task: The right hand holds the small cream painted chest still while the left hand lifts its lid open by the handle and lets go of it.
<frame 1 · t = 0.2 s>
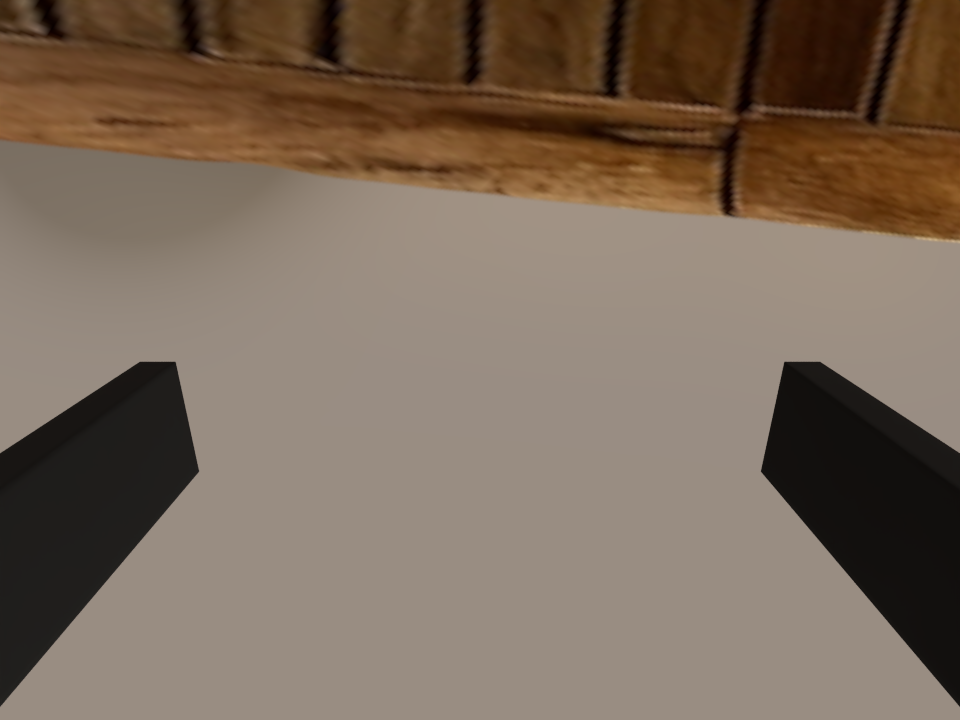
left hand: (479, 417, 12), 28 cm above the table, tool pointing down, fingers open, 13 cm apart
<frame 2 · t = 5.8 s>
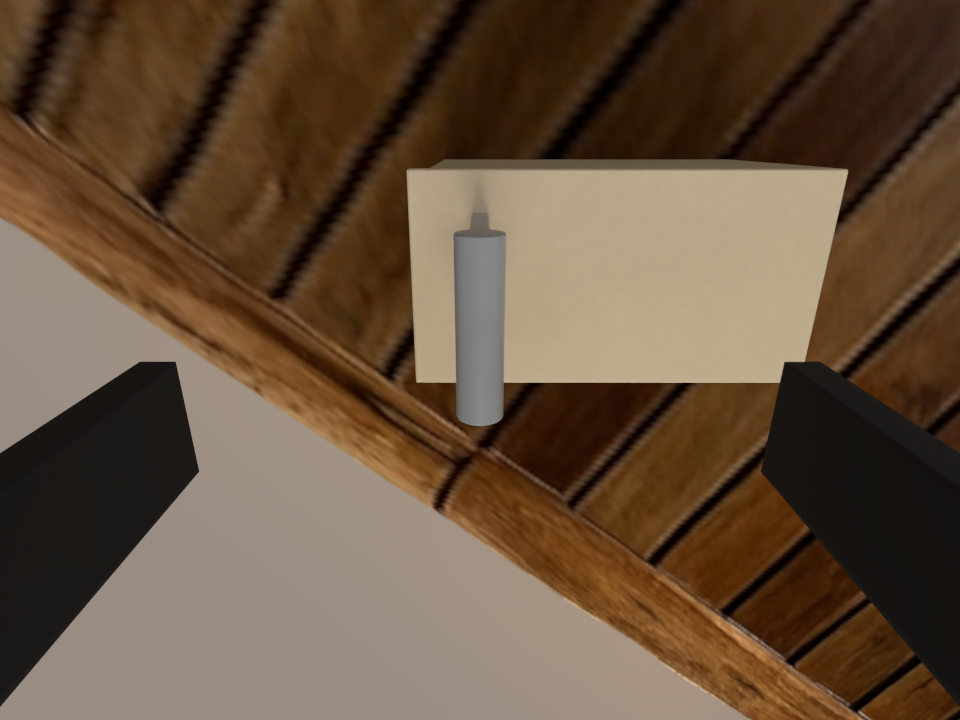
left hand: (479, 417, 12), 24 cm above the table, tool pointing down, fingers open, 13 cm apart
lid: (635, 303, 21), point 15 cm above the table, hinge at 0.0°
chest: (581, 238, 35), on the table
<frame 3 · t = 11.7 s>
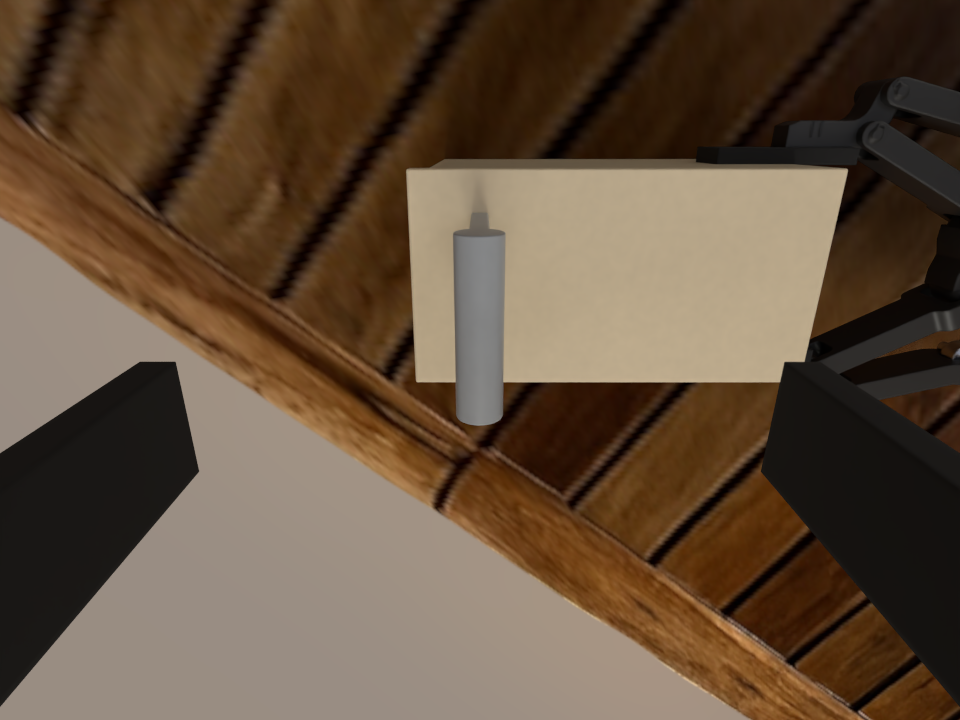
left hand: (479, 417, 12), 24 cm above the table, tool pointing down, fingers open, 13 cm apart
lid: (635, 303, 21), point 15 cm above the table, hinge at 0.0°
chest: (580, 238, 35), on the table, touching right hand
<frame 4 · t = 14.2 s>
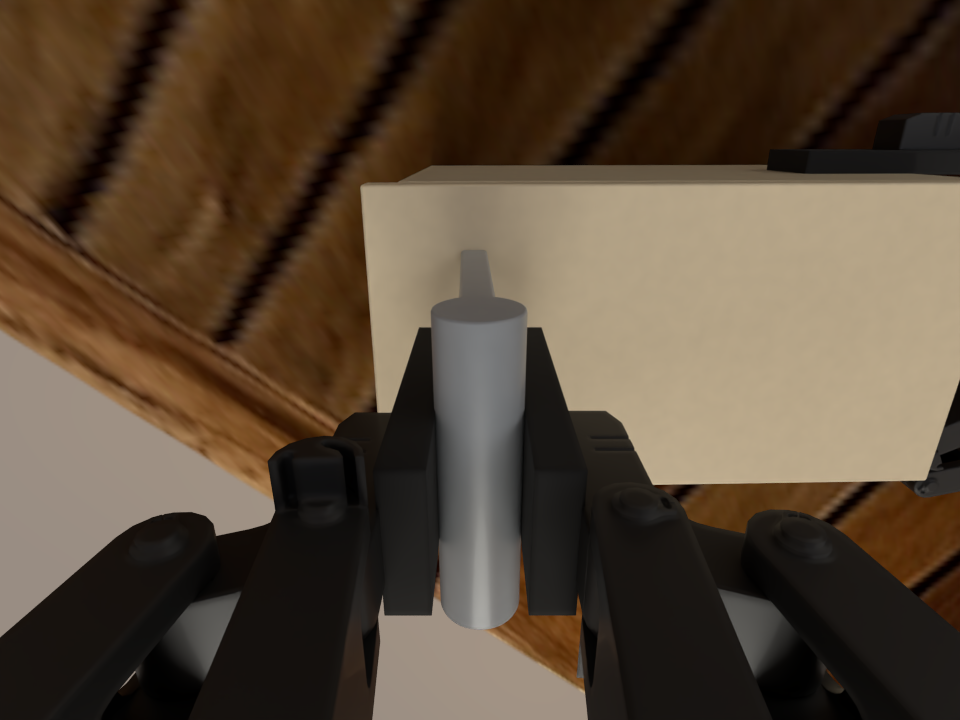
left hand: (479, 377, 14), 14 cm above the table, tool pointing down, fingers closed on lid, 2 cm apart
lid: (721, 394, 13), point 15 cm above the table, hinge at 1.6°, touching left hand
chest: (604, 265, 27), on the table, touching right hand
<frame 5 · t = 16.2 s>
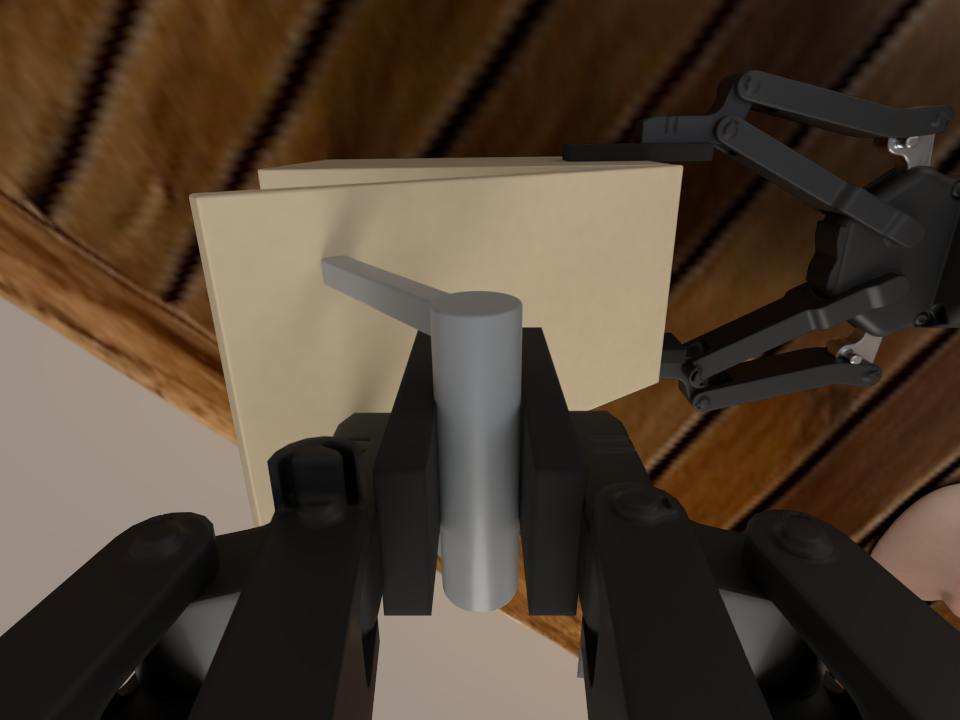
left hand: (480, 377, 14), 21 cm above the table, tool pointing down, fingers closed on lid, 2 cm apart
right hand: (561, 257, 29), fingers closed on chest, 9 cm apart
lid: (576, 347, 16), point 19 cm above the table, hinge at 37.3°, touching left hand
chest: (471, 237, 34), on the table, touching right hand
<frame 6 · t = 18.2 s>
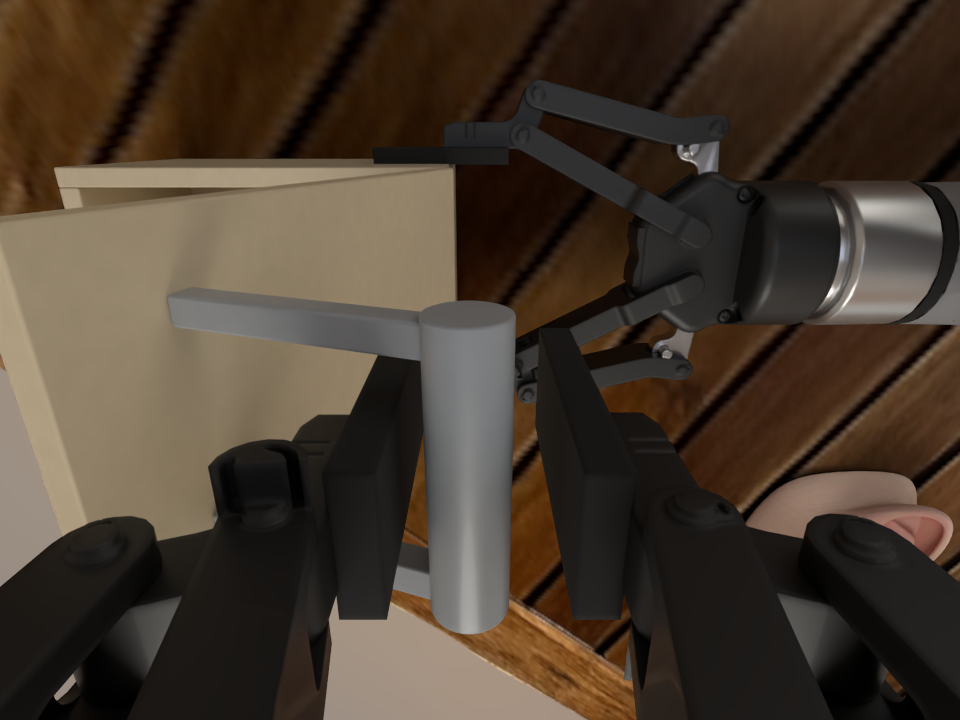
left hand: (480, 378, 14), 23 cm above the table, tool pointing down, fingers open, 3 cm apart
right hand: (384, 254, 30), fingers closed on chest, 9 cm apart
lid: (440, 349, 16), point 21 cm above the table, hinge at 70.0°
anatomical model: (821, 528, 44), on the table
chest: (324, 235, 36), on the table, touching right hand
when the right hand's fingers open (6 cm above the table, at t = 22.2 s): chest stays where it is, on the table.
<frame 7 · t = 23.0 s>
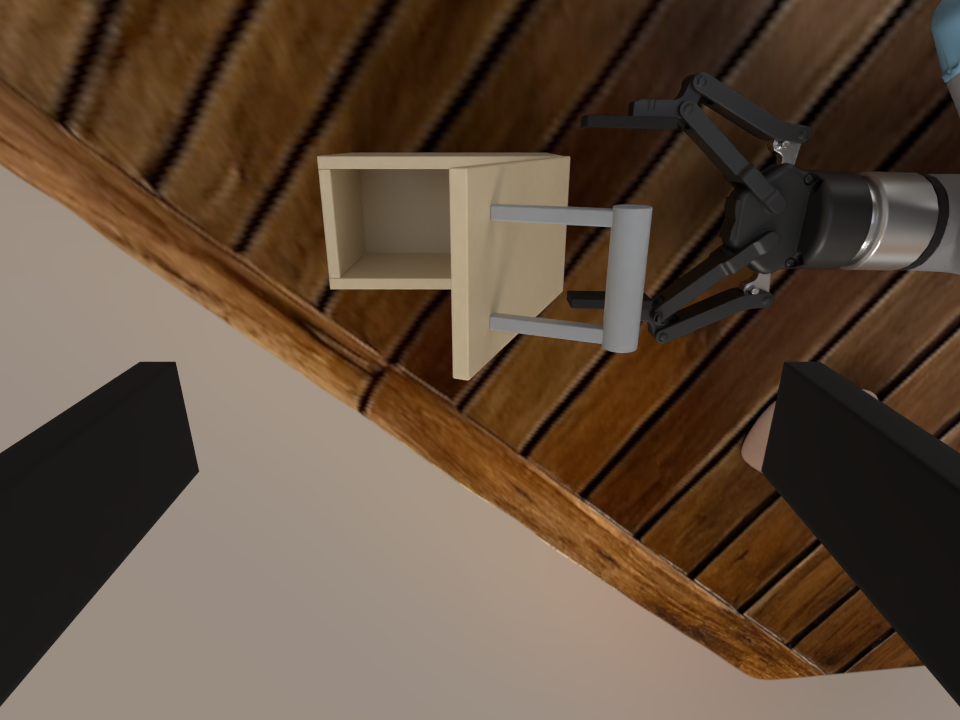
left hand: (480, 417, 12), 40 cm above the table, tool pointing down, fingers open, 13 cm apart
right hand: (575, 215, 44), fingers open, 13 cm apart
lid: (583, 251, 30), point 21 cm above the table, hinge at 68.1°
anatomical model: (808, 434, 58), on the table
chest: (449, 208, 50), on the table
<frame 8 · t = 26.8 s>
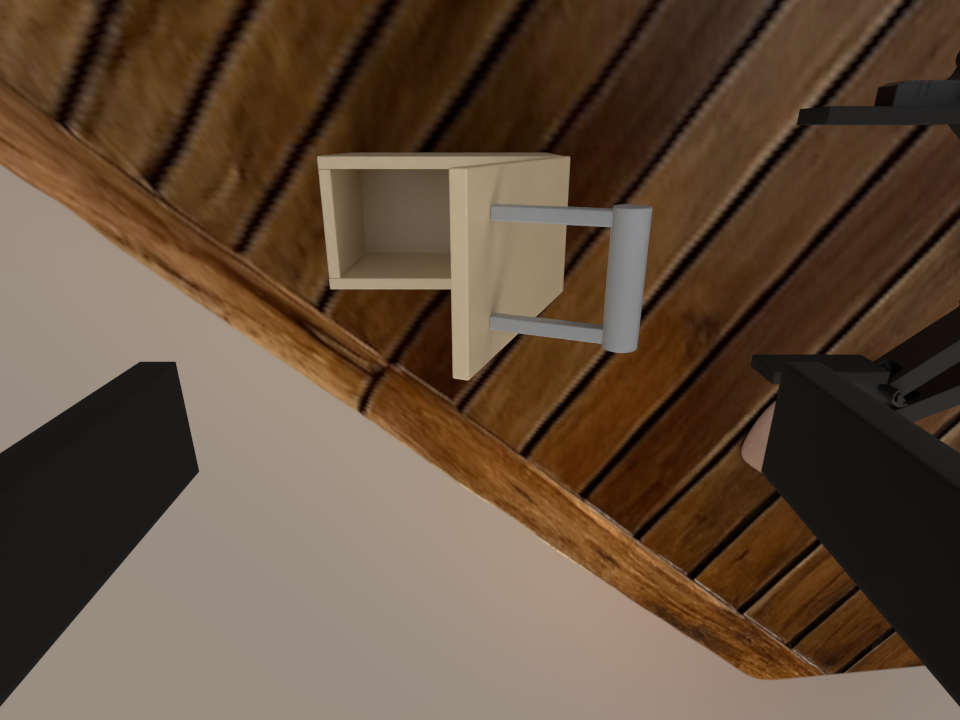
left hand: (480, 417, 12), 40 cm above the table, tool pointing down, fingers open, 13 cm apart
lid: (583, 251, 30), point 21 cm above the table, hinge at 68.1°
anatomical model: (808, 434, 58), on the table
chest: (449, 208, 50), on the table
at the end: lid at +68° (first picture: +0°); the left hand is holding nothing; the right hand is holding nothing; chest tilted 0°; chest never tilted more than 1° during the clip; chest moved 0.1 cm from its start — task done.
